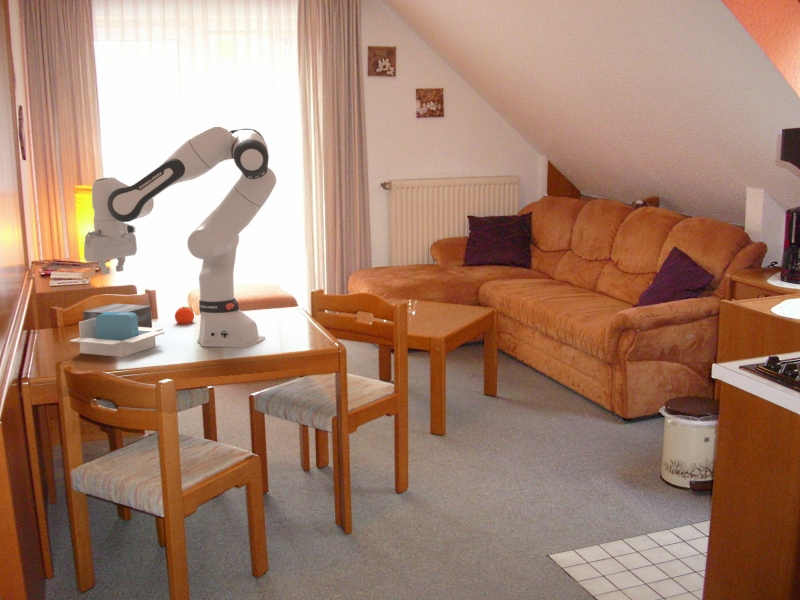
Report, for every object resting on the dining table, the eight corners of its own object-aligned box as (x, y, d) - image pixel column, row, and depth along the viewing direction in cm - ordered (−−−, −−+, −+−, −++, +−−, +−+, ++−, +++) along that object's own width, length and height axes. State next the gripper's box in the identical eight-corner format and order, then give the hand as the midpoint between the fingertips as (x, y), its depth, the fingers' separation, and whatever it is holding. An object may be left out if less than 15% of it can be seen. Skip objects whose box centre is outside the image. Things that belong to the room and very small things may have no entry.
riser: (152, 330, 285) (150, 305, 283) (121, 339, 270) (119, 313, 269) (116, 327, 291) (114, 303, 289) (84, 336, 276) (82, 311, 274)
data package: (140, 348, 257) (137, 312, 255) (133, 351, 253) (130, 315, 251) (105, 347, 259) (102, 311, 257) (98, 351, 254) (95, 314, 252)
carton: (173, 344, 262) (171, 314, 261) (124, 361, 241) (122, 329, 239) (123, 339, 270) (120, 311, 268) (71, 356, 248) (68, 324, 246)
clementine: (186, 322, 299) (185, 303, 297) (200, 323, 295) (199, 305, 294) (171, 326, 292) (170, 307, 290) (185, 328, 288) (184, 308, 287)
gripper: (93, 232, 239) (97, 277, 241) (138, 226, 257) (141, 268, 260) (77, 231, 241) (80, 276, 243) (123, 226, 260) (126, 268, 262)
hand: (112, 272), depth 252 cm, fingers open, 5 cm apart
